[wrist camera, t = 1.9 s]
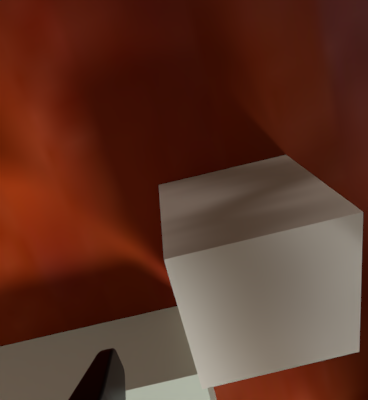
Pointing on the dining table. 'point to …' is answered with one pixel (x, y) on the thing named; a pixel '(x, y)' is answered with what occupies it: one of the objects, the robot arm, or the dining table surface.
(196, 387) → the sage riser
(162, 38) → the dining table surface
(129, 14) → the dining table surface
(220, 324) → the cream block
